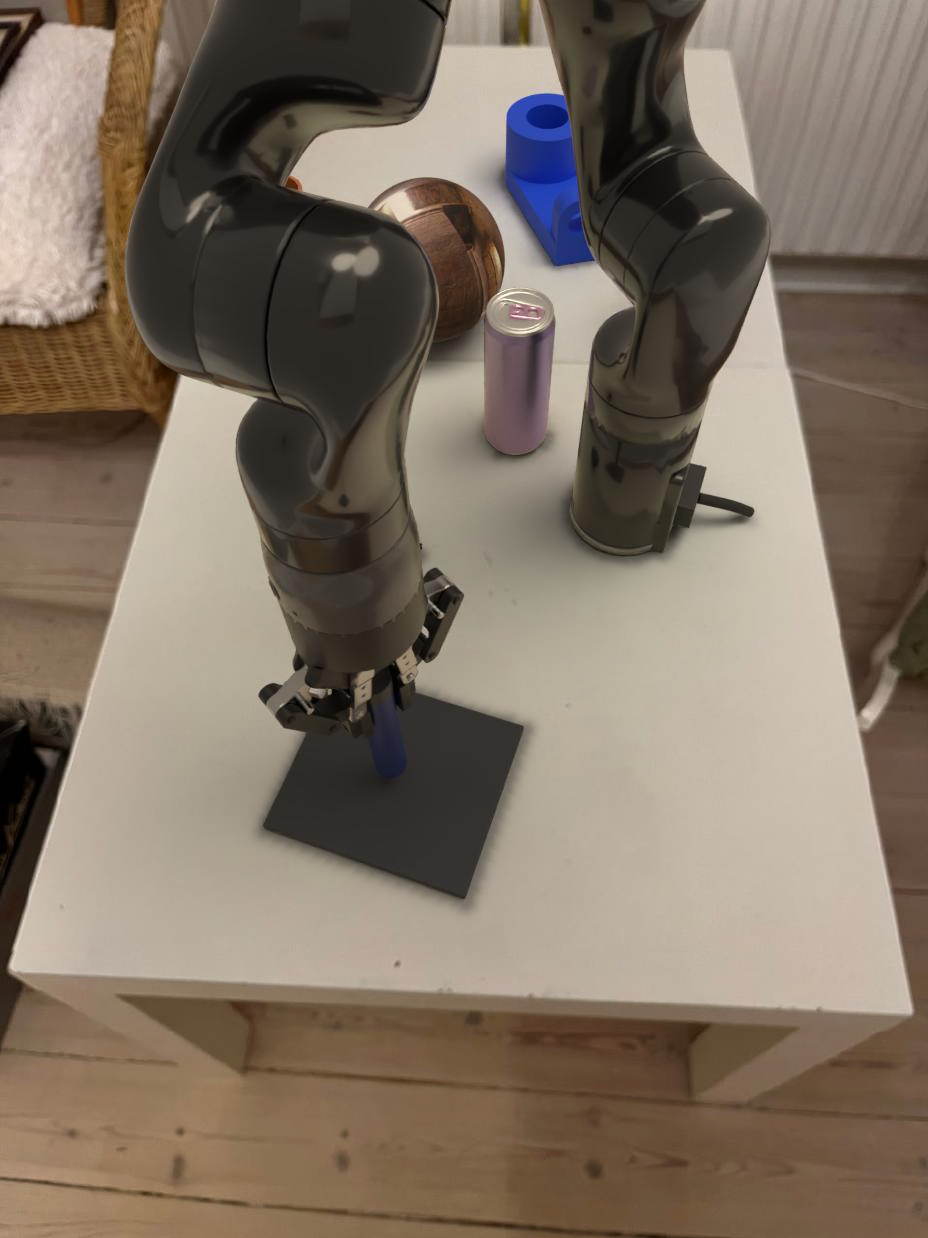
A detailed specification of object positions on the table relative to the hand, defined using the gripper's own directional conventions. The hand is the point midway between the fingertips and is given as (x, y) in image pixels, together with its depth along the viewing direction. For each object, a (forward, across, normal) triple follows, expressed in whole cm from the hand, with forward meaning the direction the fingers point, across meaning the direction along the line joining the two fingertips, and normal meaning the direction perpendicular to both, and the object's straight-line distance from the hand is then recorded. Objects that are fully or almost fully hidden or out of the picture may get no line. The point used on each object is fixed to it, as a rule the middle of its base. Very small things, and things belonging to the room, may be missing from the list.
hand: (380, 712), depth 61 cm
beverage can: (+12, +30, +20) cm, 38 cm away
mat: (+12, 0, 0) cm, 12 cm away
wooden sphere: (+12, +34, +37) cm, 52 cm away
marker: (+9, 0, 0) cm, 9 cm away
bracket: (+12, +57, +42) cm, 71 cm away
